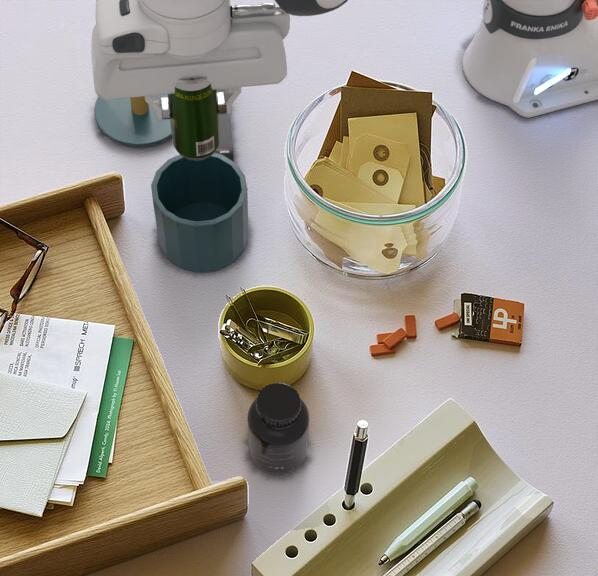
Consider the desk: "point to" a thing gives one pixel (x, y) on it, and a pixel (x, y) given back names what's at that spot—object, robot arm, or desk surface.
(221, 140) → the grey notched bar
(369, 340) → the desk surface
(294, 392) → the supplement bottle
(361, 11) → the desk surface
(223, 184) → the tin
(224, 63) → the robot arm
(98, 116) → the lid
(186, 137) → the beer can
